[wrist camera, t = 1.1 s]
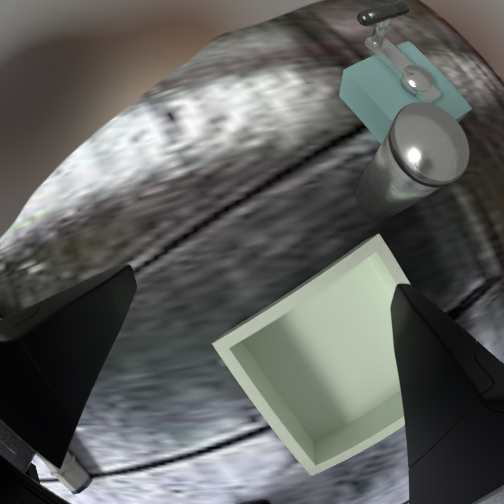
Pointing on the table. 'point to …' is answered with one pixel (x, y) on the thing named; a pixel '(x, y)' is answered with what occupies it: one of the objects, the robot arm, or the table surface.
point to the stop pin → (412, 161)
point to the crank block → (392, 91)
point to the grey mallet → (71, 474)
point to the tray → (325, 359)
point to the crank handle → (397, 51)
